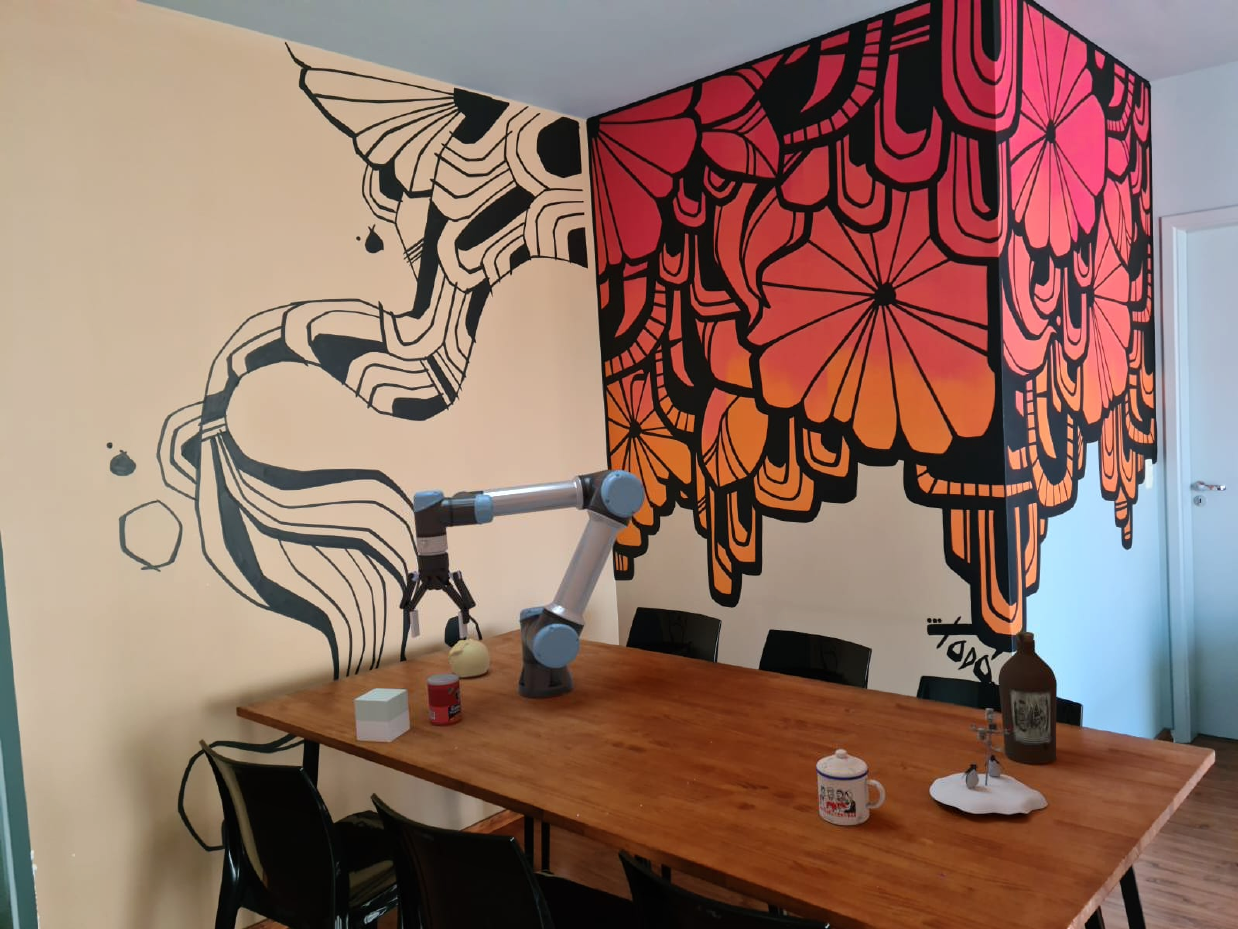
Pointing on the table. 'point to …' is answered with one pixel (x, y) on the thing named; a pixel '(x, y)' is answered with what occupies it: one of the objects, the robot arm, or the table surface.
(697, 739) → the table surface
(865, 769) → the teacup with lid
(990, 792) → the figurine
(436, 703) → the canned food
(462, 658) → the sculpture
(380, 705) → the tower top
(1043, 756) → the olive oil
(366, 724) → the tower base
